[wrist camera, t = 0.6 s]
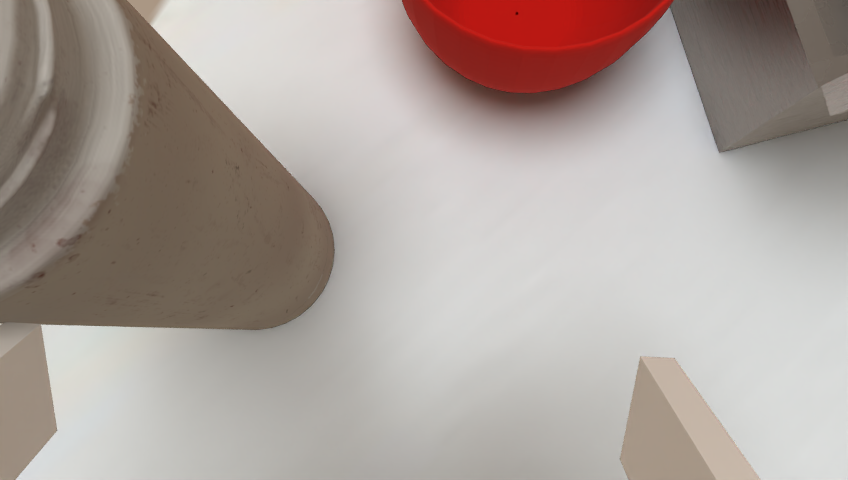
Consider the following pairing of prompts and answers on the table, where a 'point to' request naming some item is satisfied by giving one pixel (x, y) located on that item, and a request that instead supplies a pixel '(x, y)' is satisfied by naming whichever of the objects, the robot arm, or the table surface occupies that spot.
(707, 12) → the grey rectangular box
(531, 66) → the ceramic cup
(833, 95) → the lid
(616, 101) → the table surface
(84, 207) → the thermos bottle
